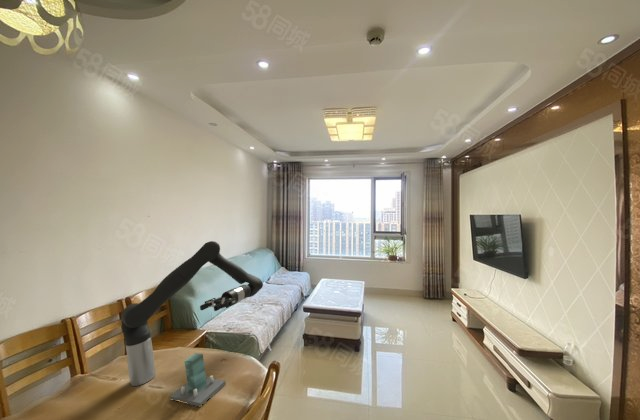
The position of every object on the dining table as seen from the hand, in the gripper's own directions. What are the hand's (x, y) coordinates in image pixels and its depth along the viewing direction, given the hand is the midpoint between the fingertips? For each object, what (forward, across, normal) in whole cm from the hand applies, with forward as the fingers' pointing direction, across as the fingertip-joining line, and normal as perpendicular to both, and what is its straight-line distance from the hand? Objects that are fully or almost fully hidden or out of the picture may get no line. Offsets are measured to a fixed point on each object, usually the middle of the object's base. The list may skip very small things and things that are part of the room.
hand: (207, 308), depth 114 cm
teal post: (+14, +6, +25) cm, 29 cm away
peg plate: (+14, +6, +27) cm, 31 cm away
